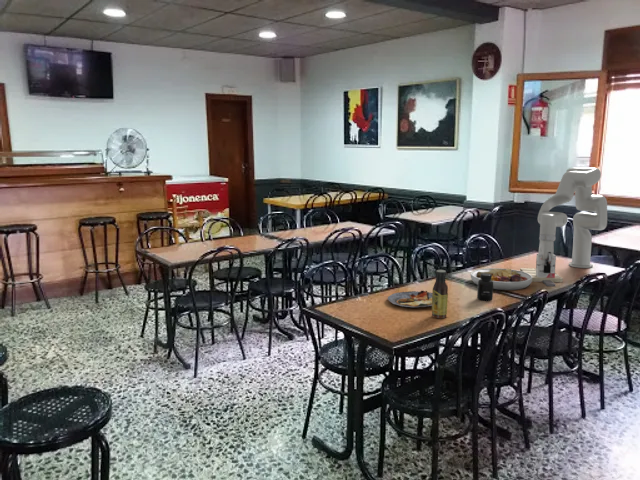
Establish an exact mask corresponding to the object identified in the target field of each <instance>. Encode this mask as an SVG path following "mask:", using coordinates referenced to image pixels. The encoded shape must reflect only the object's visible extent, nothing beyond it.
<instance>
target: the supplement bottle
mask: <svg viewBox="0 0 640 480" xmlns="http://www.w3.org/2000/svg"><path fill="white" fill-rule="evenodd" d="M491 277H492V275H491V274H487V273H482V274H481V277H480V278H481V279H480V280H479V281H478V285H477V292H476V293H477V295H476V299H477V300H478V301H480V302H491V301H493V297H494V289H493V281H492V280H491V279H492V278H491Z"/></svg>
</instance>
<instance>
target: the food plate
mask: <svg viewBox="0 0 640 480" xmlns="http://www.w3.org/2000/svg"><path fill="white" fill-rule="evenodd" d="M432 293H433V292H430V291H429V292H428V291H427V290H420V291H416V290H414V291H413V290H412V291H402V292H394V293H392V294H389V295H388V296H387V300H388V301H389V303H392V304H393V305H396V306H400V307H402V308H427V307H432Z"/></svg>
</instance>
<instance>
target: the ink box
mask: <svg viewBox="0 0 640 480" xmlns="http://www.w3.org/2000/svg"><path fill="white" fill-rule="evenodd" d="M556 256H557V255H555V254H554V253H553V259H552V262H551V271H550V273H544V265H545V260H542V255H541V254H538V253H537V254H536V260H535V261H536V262H535V263H536V264H535V269H536V276H537V277H538V278H555V273H556V263H557V262H556V261H557V260H556V259H557V257H556ZM546 260H548V258H546ZM546 263H547V261H546Z"/></svg>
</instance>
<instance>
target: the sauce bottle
mask: <svg viewBox="0 0 640 480" xmlns="http://www.w3.org/2000/svg"><path fill="white" fill-rule="evenodd" d="M435 274H436V276H435V277H436V278H435V282H434V285H433V287H432V292H431V293H432V306H431V316H432V317H433V318H435V319H445V318H447V314H448V298H449V296H448V295H449V292H448V291H449V287H448V284H447V282H446V275H447V271H446V270H444V269H437V270H436V271H435Z"/></svg>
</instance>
